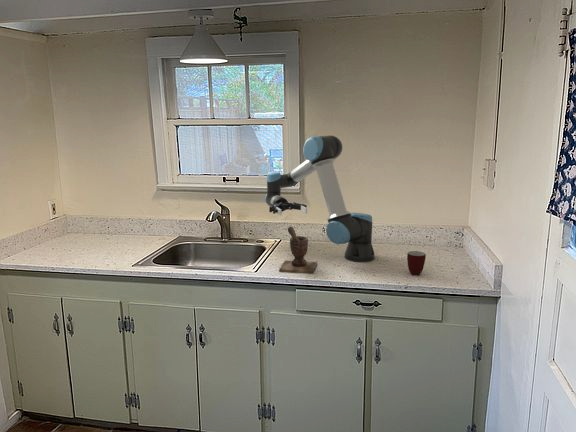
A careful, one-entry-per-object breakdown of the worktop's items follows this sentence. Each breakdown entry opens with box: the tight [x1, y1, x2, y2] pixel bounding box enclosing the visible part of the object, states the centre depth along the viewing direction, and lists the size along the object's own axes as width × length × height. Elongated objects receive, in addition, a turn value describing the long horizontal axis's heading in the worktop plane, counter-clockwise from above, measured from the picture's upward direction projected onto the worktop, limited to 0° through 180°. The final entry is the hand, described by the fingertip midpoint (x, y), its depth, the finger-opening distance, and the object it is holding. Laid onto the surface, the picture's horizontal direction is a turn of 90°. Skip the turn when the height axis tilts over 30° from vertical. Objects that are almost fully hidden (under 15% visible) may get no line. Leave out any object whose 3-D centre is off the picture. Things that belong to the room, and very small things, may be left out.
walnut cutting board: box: [278, 259, 318, 275], centre depth 229 cm, size 16×14×1 cm
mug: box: [406, 250, 427, 276], centre depth 220 cm, size 10×8×10 cm
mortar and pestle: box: [287, 226, 309, 267], centre depth 227 cm, size 12×9×20 cm
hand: (293, 211), depth 237 cm, fingers open, 13 cm apart
